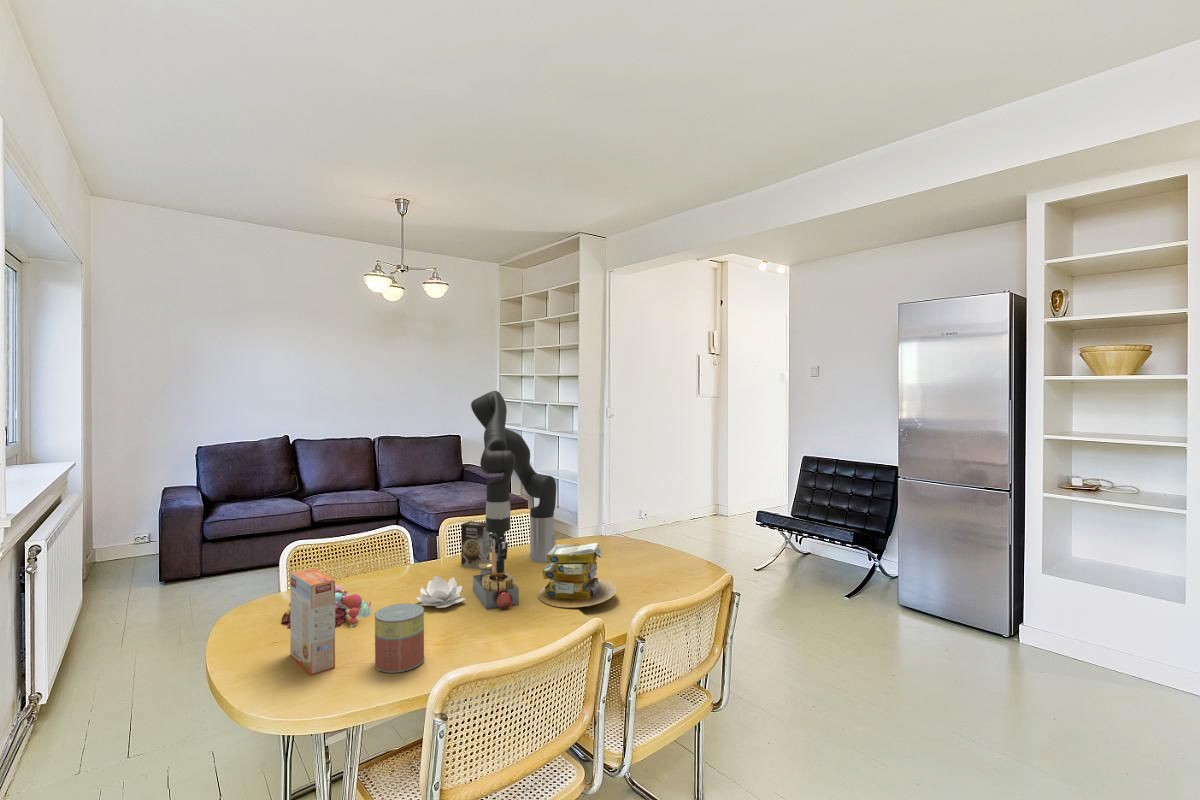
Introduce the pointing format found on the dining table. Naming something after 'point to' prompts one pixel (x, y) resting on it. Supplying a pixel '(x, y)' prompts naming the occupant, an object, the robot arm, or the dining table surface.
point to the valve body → (495, 588)
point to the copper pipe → (494, 574)
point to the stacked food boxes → (574, 577)
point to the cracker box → (313, 620)
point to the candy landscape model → (341, 608)
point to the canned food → (399, 637)
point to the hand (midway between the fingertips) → (498, 570)
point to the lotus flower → (440, 593)
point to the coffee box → (474, 544)
